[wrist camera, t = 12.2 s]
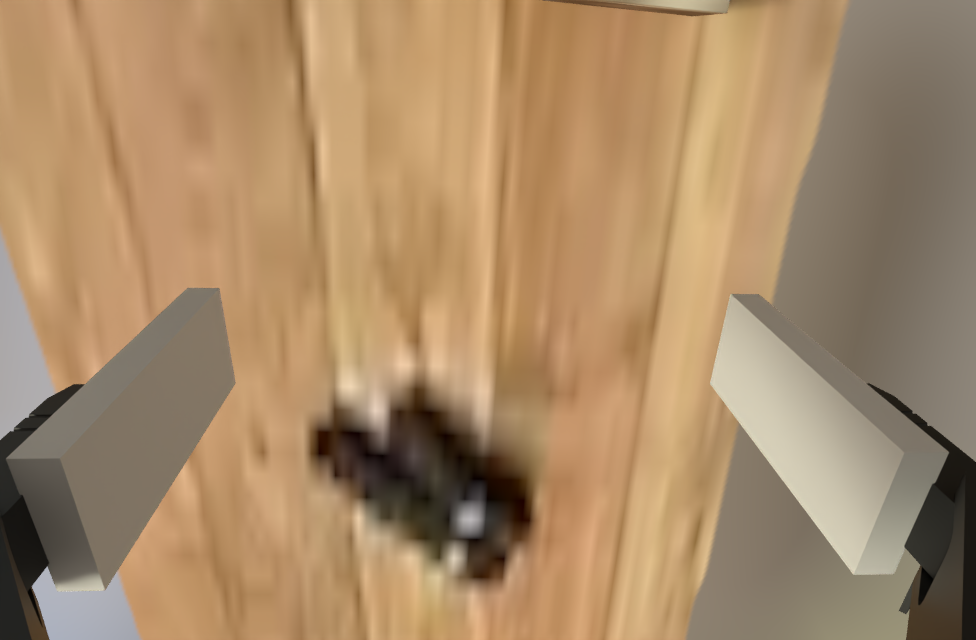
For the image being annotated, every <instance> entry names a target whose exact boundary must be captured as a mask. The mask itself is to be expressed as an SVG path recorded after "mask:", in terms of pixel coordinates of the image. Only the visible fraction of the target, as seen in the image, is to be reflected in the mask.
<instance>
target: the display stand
mask: <svg viewBox="0 0 976 640" xmlns="http://www.w3.org/2000/svg"><path fill="white" fill-rule="evenodd" d="M544 1H554V2H563V3H573V4H582V5H591V6H601V7H610V8H620V9H629V10H639V11H648V12H658V13H667V14H677V15H686V16H700V15H712V14H723V13H727V11H728V7H729V2H730V0H544Z"/></svg>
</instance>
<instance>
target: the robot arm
mask: <svg viewBox="0 0 976 640" xmlns="http://www.w3.org/2000/svg"><path fill="white" fill-rule="evenodd" d="M235 383H236V382H235V377H234V371H233V365H232V359H231V353H230V347H229V342H228V336H227V330H226V324H225V318H224V313H223V307H222V301H221V295H220V289H219V288H187V289H186V290H185V291H184V292H183V293H182V294H181V295H180V296H178V297H177V298H176V299H175V300H174V301H173V302H172V303H171V304H170V305H169V306H168V307H167V308H166V309H165V310H164V311H162V312H161V313H160V314H159V315H158V316H157V317H156V318H155V319H154V320H153V321H152V322H151V323H150V324H149V325H148V326H147V327H145V328H144V329H143V330H142V331H141V332H140V333H139V334H138V335H137V336H136V337H135V338H134V339H133V340H132V341H131V342H129V343H128V344H127V345H126V346H125V347H124V348H123V349H122V350H121V351H120V352H119V353H118V354H117V355H116V356H115V357H113V358H112V359H111V360H110V361H109V362H108V363H107V364H106V365H105V366H104V367H103V368H102V369H101V370H100V371H99V372H98V373H96V374H95V375H94V376H93V377H92V378H91V379H90V380H89V381H88V382H87V383H86V384H74V385H72V386H70V387H68V388H66V389H64V390H62V391H60V392H59V393H57V394H55V395H53V396H51V397H49V398H47V399H46V400H45V401H44V402H43V403H42V404H40V405H39V406H38V407H37V408H36V409H35V410H34V411H33V412H31V413H30V414H29V418H25V419H24V420H23V421H21V422H20V423H19V424H18V425H17V426H16V427H15V428H14V431H13V432H11V431H10V432H9V433H8V434H7V435H6V436H5V437H3V438H2V439H1V440H0V640H49V637H48V634H47V631H46V627H45V624H44V620H43V617H42V614H41V611H40V607H39V604H38V601H37V598H36V596H35V594H34V591H33V589H32V585H33V583H34V582H35V581H36V580H37V579H38V577H39V576H40V575H41V573H42V572H43V571H44V569H45V568H46V567H47V566H48V569H49V571H50V574H51V576H52V579H53V581H54V584H55V586H56V589H57V591H96V590H97V591H99V590H106V588H107V586H108V585H109V583H110V582H111V580H112V578H113V577H114V575H115V574H116V572H117V571H118V569H119V567H120V566H121V564H122V563H123V561H124V559H125V558H126V556H127V555H128V553H129V552H130V550H131V548H132V547H133V545H134V544H135V542H136V540H137V539H138V537H139V536H140V534H141V532H142V531H143V529H144V528H145V526H146V525H147V523H148V521H149V520H150V518H151V517H152V515H153V513H154V512H155V510H156V509H157V507H158V506H159V504H160V502H161V501H162V499H163V498H164V496H165V494H166V493H167V491H168V490H169V488H170V486H171V485H172V483H173V482H174V480H175V479H176V477H177V475H178V474H179V472H180V471H181V469H182V467H183V466H184V464H185V463H186V461H187V459H188V458H189V456H190V455H191V453H192V452H193V450H194V448H195V447H196V445H197V444H198V442H199V440H200V439H201V437H202V436H203V434H204V432H205V431H206V429H207V428H208V426H209V425H210V423H211V421H212V420H213V418H214V417H215V415H216V413H217V412H218V410H219V409H220V407H221V406H222V404H223V402H224V401H225V399H226V398H227V396H228V394H229V393H230V391H231V390H232V388H233V386H234V385H235ZM710 384H711V385H712V387H713V388H714V389H715V391H716V392H717V393H718V395H719V396H720V397H721V399H722V400H723V401H724V403H725V404H726V405H727V407H728V408H729V409H730V411H731V412H732V413H733V415H734V416H735V417H736V419H737V420H738V421H739V423H740V424H741V425H742V427H743V428H744V429H745V431H746V432H747V433H748V435H749V436H750V437H751V439H752V440H753V441H754V443H755V444H756V445H757V447H758V448H759V449H760V451H761V452H762V453H763V455H764V456H765V457H766V458H767V460H768V461H769V463H770V464H771V465H772V467H773V468H774V469H775V471H776V472H777V473H778V475H779V476H780V477H781V479H782V480H783V481H784V482H785V484H786V485H787V487H788V488H789V489H790V491H791V492H792V493H793V495H794V496H795V497H796V499H797V500H798V501H799V502H800V504H801V505H802V506H803V508H804V509H805V511H806V512H807V513H808V515H809V516H810V517H811V518H812V520H813V521H814V523H815V524H816V525H817V527H818V528H819V529H820V531H821V532H822V533H823V535H825V537H826V539H827V540H828V541H829V543H830V544H831V545H832V547H833V548H834V549H835V551H836V552H837V553H838V554H839V556H840V557H841V559H842V560H843V561H844V563H845V564H846V565H847V567H848V568H849V569H850V570H851V572H852V573H853V574H854V575H867V574H894V572H895V570H896V568H897V566H898V563H899V561H900V559H901V557H902V555H903V553H904V550H905V548H906V549H907V550H908V551H909V552H910V554H911V555H912V556H913V557H914V558H915V559H916V560H917V561H918V563H919V564H920V565H921V566H920V568H919V570H918V572H917V574H916V576H915V578H914V580H913V582H912V584H911V587H910V589H909V591H908V593H907V595H906V597H905V599H904V601H903V603H902V605H901V607H900V610H899V611H901V612H903V613H905V614H906V613H907V612H908V610H909V609H910V612H909V620H908V630H907V637H906V640H976V462H975V461H974V460H973V459H971V458H970V457H969V456H968V455H966V454H965V453H964V452H963V451H962V450H960V449H959V448H958V447H956V446H955V445H954V444H953V443H952V442H950V441H949V440H948V439H946V438H945V437H944V436H943V435H942V434H940V433H939V432H938V431H937V430H935V429H934V428H933V427H931V426H927V422H925V421H924V420H923V419H921V417H919V416H918V415H917V414H913V413H912V410H911V409H909V408H908V407H907V406H906V405H904V404H903V403H902V402H901V401H899V400H898V399H897V398H896V397H894V396H893V395H891V394H889V393H887V392H885V391H883V390H881V389H879V388H877V387H875V386H873V385H871V384H866V383H865V382H864V381H863V380H861V379H860V378H859V377H857V375H855V374H854V373H853V372H852V371H850V370H849V369H848V368H847V367H846V366H844V365H843V364H842V363H841V362H840V361H838V360H837V359H836V358H835V357H833V356H832V355H831V354H830V353H829V352H827V351H826V350H825V349H824V348H823V347H822V346H820V345H819V344H818V343H817V342H816V341H814V340H813V339H812V338H811V337H810V336H808V335H807V334H806V333H805V332H803V331H802V330H801V329H800V328H799V327H797V326H796V325H795V324H794V323H793V322H791V321H790V320H789V319H788V318H787V317H785V316H784V315H783V314H782V313H781V312H779V311H778V310H777V309H776V308H775V307H773V306H772V305H771V304H770V303H769V302H767V301H766V300H765V299H764V298H763V297H761V296H760V295H759V294H730V298H729V303H728V307H727V312H726V316H725V320H724V325H723V329H722V334H721V338H720V342H719V347H718V351H717V356H716V360H715V364H714V369H713V373H712V377H711V382H710Z"/></svg>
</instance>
